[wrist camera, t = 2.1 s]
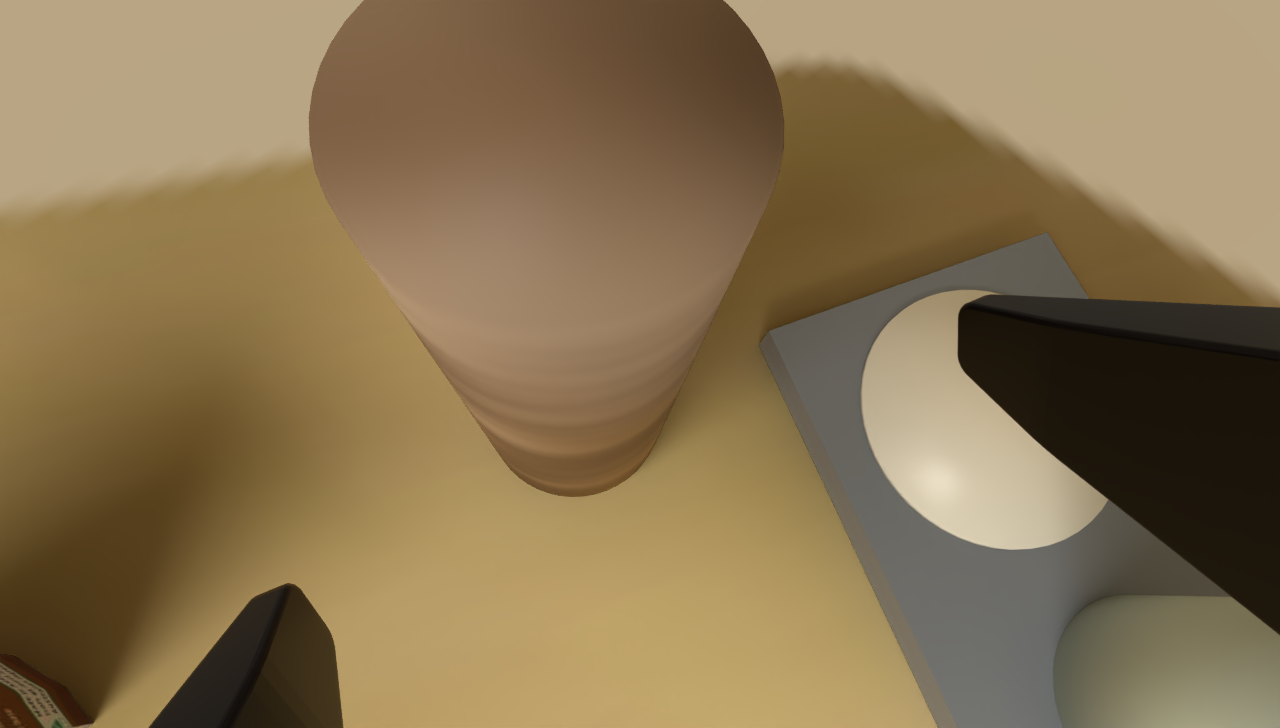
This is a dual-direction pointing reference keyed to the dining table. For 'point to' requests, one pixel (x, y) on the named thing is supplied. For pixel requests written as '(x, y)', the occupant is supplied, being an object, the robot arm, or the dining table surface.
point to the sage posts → (1167, 665)
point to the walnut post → (552, 203)
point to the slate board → (960, 492)
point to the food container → (35, 699)
